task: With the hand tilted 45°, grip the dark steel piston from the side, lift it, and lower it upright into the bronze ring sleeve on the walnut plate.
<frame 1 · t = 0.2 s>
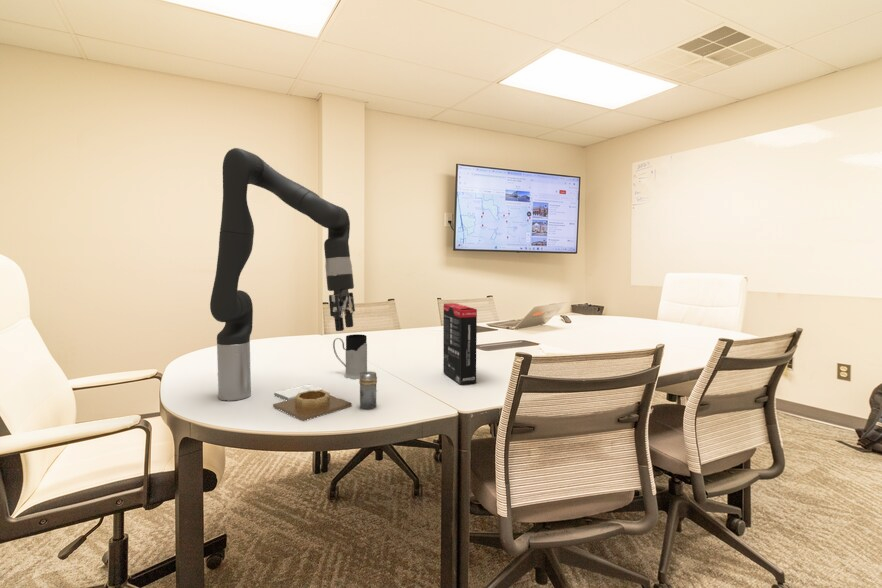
hand: (344, 328, 126), 23 cm above the table, tool pointing down, fingers open, 8 cm apart
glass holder: (350, 375, 162), on the table
ring sleeve: (312, 406, 127), on the table
external hard drive: (298, 395, 139), on the table
piston: (368, 406, 128), on the table
graphics card box: (458, 379, 159), on the table
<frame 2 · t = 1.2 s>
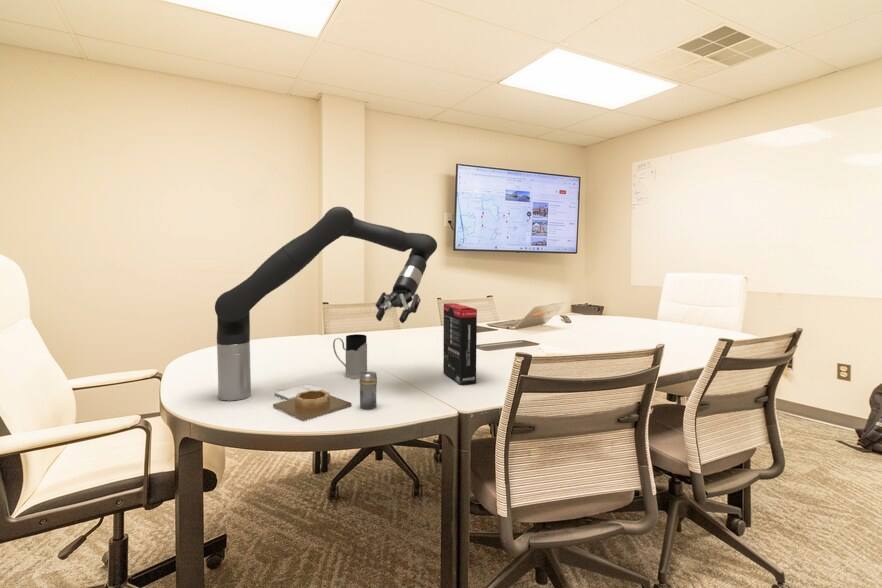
hand: (389, 320, 136), 24 cm above the table, tool tilted 45°, fingers open, 8 cm apart
nothing on the table moved.
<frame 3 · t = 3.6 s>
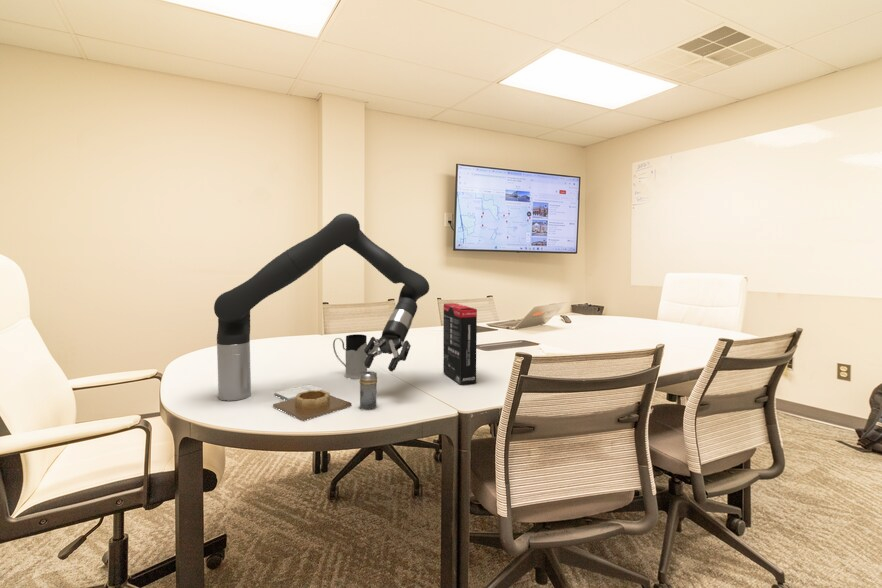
hand: (378, 368, 132), 10 cm above the table, tool tilted 45°, fingers open, 8 cm apart
nothing on the table moved.
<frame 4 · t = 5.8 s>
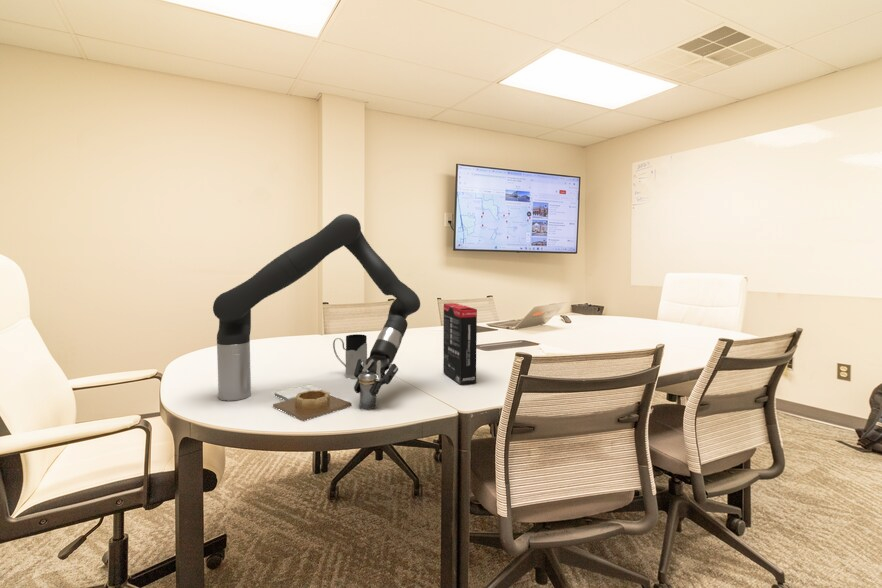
hand: (364, 393, 126), 5 cm above the table, tool tilted 45°, fingers closed on piston, 5 cm apart
piston: (368, 406, 128), on the table, touching gripper
everything else where it was.
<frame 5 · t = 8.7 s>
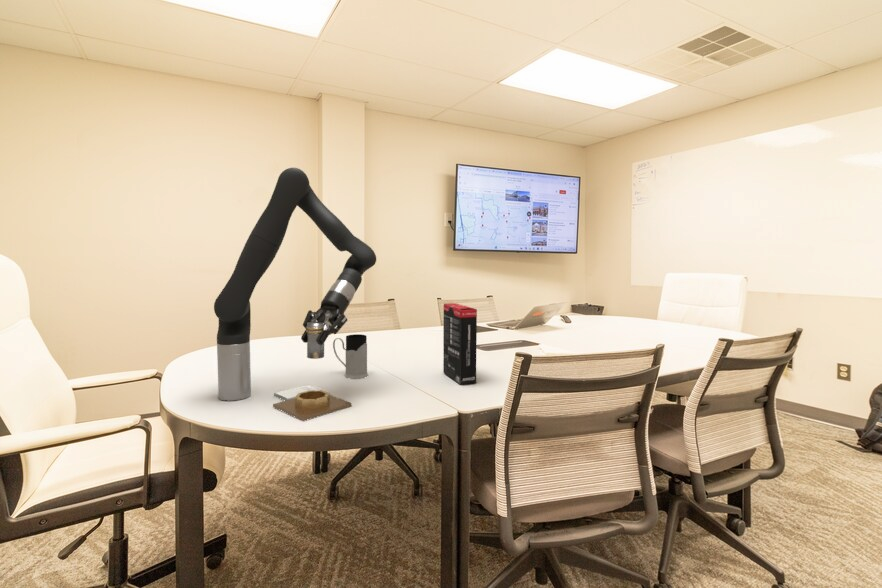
hand: (311, 341, 124), 20 cm above the table, tool tilted 45°, fingers closed on piston, 5 cm apart
piston: (315, 356, 126), point 15 cm above the table, touching gripper
everything else where it was.
when the fingers open (7 cm above the table, at t = 11.5 s): piston drops 1 cm, resting on ring sleeve.
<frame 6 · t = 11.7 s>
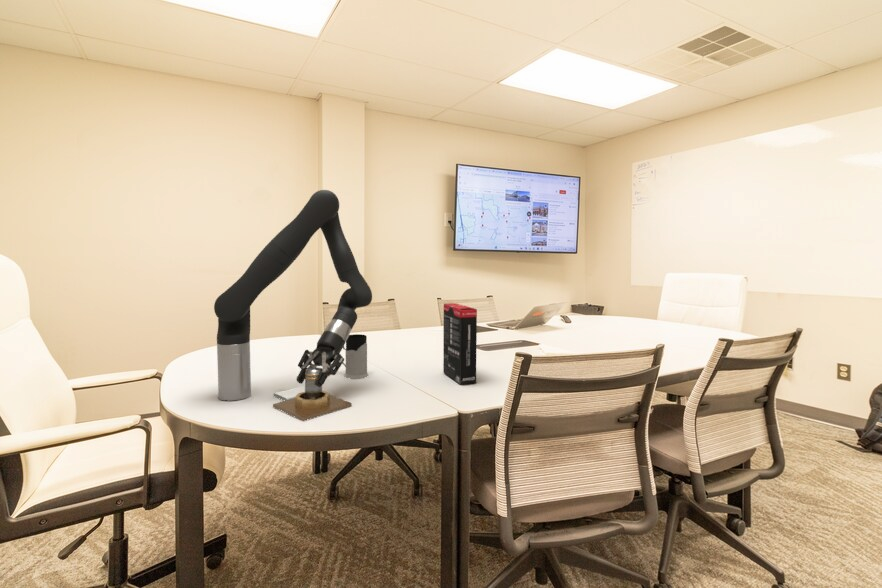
hand: (308, 383, 125), 7 cm above the table, tool tilted 45°, fingers open, 6 cm apart
piston: (312, 402, 127), point 1 cm above the table, touching ring sleeve
everything else where it was.
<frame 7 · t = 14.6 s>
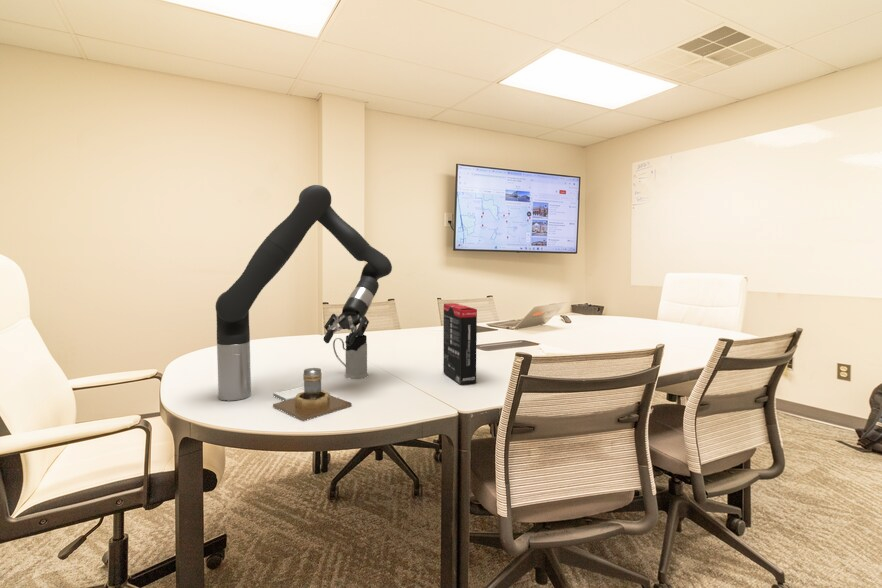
hand: (336, 343, 135), 17 cm above the table, tool tilted 45°, fingers open, 8 cm apart
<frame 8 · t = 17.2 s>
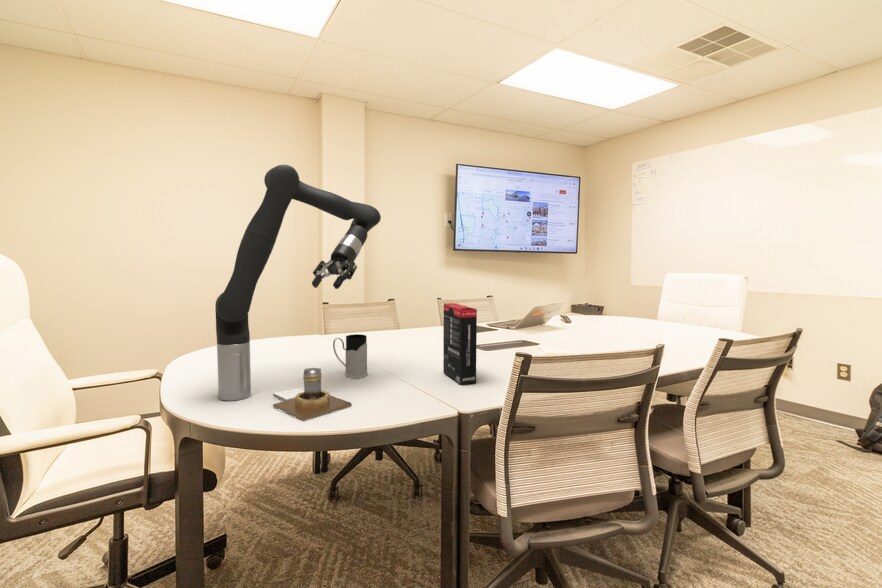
hand: (324, 286, 136), 35 cm above the table, tool tilted 45°, fingers open, 8 cm apart
at the end: piston 0.1 cm off-centre on the ring sleeve, point 1.0 cm above the ring sleeve's base; piston tilted 0°; the gripper is holding nothing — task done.
